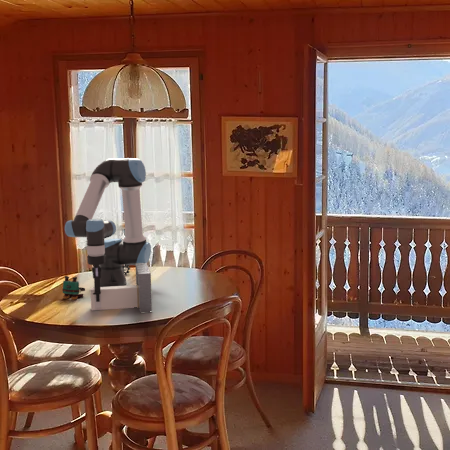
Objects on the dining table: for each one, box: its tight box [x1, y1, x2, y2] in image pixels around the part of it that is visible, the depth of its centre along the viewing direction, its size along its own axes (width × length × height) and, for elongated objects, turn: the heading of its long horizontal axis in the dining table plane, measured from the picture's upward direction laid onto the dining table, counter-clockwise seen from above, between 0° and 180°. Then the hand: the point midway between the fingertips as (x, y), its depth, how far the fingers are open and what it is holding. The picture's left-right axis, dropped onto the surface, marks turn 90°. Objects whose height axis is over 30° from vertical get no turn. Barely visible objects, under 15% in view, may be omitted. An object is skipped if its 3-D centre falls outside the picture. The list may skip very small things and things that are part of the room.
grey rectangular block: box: [89, 284, 139, 311], centre depth 276 cm, size 23×5×9 cm, turn 102°
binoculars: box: [62, 275, 86, 301], centre depth 295 cm, size 9×11×10 cm
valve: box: [122, 265, 131, 276], centre depth 346 cm, size 7×7×12 cm
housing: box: [135, 262, 153, 314], centre depth 277 cm, size 5×24×17 cm, turn 11°
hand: (98, 306), depth 274 cm, fingers closed on grey rectangular block, 5 cm apart
